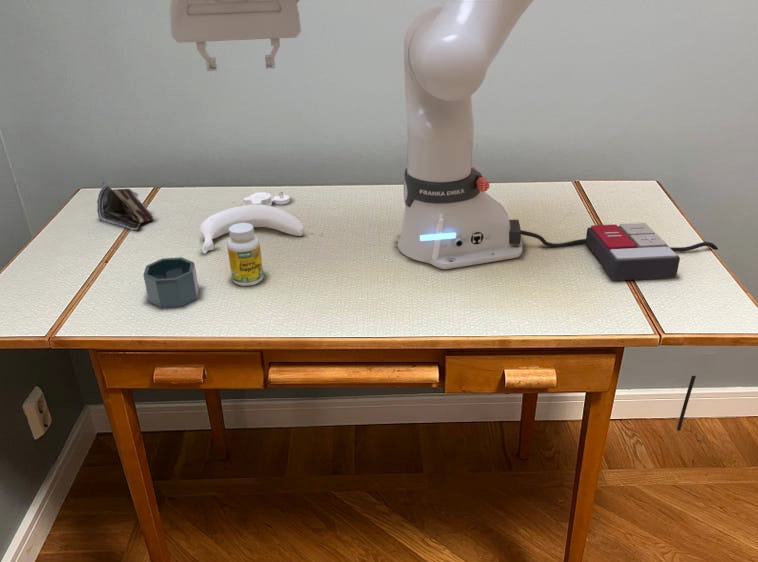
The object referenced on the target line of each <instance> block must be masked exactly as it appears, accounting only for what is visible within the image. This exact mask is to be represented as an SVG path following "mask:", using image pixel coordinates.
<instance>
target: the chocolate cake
mask: <svg viewBox="0 0 758 562" xmlns="http://www.w3.org/2000/svg"><path fill="white" fill-rule="evenodd" d="M138 197H139V193H138V192H136V191H135V192H134V191H133V190H132V189H131V188H116V189H112V188H111V187H110V186H109V185H108V184H107V183H106V182H104V181H102V184H101V190H100V191H99V193H98V198H97V201H96V204H97V207H96V208H97V209H96V211H97V216H98V218H99V220H101V221H103V222H104V223H106V222H107V223H108V224H113V225H115V226H119V227H122V228H125V229H128V230H131V231H137V230H138V229H139V227H140V226H141V224H142V223H146V222H151V221H154V216H153V214H152V213H151V211H150V210H149V209H148V207H149V205H148V204H147V203H145V202H141V200H140V199H139V198H138Z"/></svg>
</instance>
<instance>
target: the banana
mask: <svg viewBox="0 0 758 562" xmlns="http://www.w3.org/2000/svg"><path fill="white" fill-rule="evenodd" d="M237 223H249V224H252V225H253V228H269V229H272V230H276V231H279V232H282V233H284V234H289V235H290V236H291V235H292V236H295V237H299V236H300V237H301V236H303V235H304V226H303V224H302V223H301V221H300V220H299V219H298V218H297V217H296V216H294V215H293V214H291V213H289V212H288V211H286V210H283V209H280V208H278V207H276V206H273V205H271V206H267V205H244V206H243V205H238V206H234V207H230V208H227V209H223V210H221V211H218V212H216V213H213V214H212V215H210V216H208V217H206V218H205V219H204V220H202V222H201V224H200V225H199V235H200V236H201V237H202V238H203V239H204V242H203V243H202V248H201V251H202V253H203V254H206V253H207V252H209V251H215V248H214V242H213V240H214V239H217V238H220V237H221V236H222V237H223V236H224V235H226V234H229V228H230V226H232V225H234V224H237Z"/></svg>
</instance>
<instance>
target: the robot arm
mask: <svg viewBox="0 0 758 562" xmlns="http://www.w3.org/2000/svg"><path fill="white" fill-rule="evenodd" d="M534 1H535V0H446V2H445V3H444V5H443V7H442V6H437V7H430V8H426V9H424V10H422V11H420V12H418V13H417V14H416V15H415V16H414V17H413V18H412V19H411V21H410V22H409V24H408V25H407V28H406V30H405V33H404V38H403V70H404V94H405V109H406V125H407V126H406V169H405V170H404V175H403V176H404V178H403V201H404V204H405V206H404V212H403V213H404V215H403V220H402V224H401V231H400V234H399V237H398V240H397V245H396V246H397V249H398V250H399V252H400V253H401V254H402V255H404V256H406V257H407V258H409V259H412V260H414V261H418V262H422V263H426V264H430V265H432V266H434V267H436V268H438V269H441V270H451V269H457V268H462V267H463V268H464V267H468V266H469V267H470V266H475V265H480V264H487V263H492V262H493V263H494V262H499V261H505V260H511V259H516V258H520V257H521V255H522V253H523V240H522V235H523V236H528V237H530V238H534V239H537V240H539V241H540V242H541V243H542V244H543V246H545V247H548V248H552V249H553V248H555V249H556V248H565V247H571V246H574V245H579V244H580V245H582V244H586V238H581V239H575V240H571V241H567V242H561V243H552V242H550V241H549V242H548V241H547V240H546V239H545V238H544V237H543V236H541V234H537V233H535V232H532V231H526V230H522V228H521V225H520V221H519V219H510V217H509V214H508V212H507V210H506V208H505V207H504V206H503V205H502V204H501V203H500V201H498V200H496V199H495V198H494V197H492V196H491V195H490V194H488V193H486V192H488V190H489V189H490V186H491V185H490V182H489V180H488V179H487V178H486V177H484V176H483V175H482V173H481V172H480V171H478V170H477V169H476V167H474V166H473V165H472V163H473V149H474V148H473V147H474V132H475V131H474V130H475V125H474V124H475V122H474V116H473V103H472V102H473V101H472V95H473V94H475V93H476V92H477V91H478V90H479V88H480V87H482V85H483V82H484V80H485V78H486V75H487V72H488V70H489V67H490V66H491V64H492V63H493V62H494V59H496V57H497V55H498V54H499V52H500V50H501V49H502V47H503V46H504V44H505V42H506V41H507V39H508V37H509V35H510V34H511V32H512V31H513V29H514V28H515V26H516V24H517V23H518V21H519V20H520V19H521V17H522V16H523V14H524V13H525V12H526V11H527V10H528V8H529V7H530V6H531V5H532V3H533V2H534ZM299 2H300V0H170V2H169V3H170V4H169V21H170V31H171V32H170V33H171V36H172V38H173V40H175V41H176V42H177V43H180V44H182V43H196V50H197V51H198V53H199V54H200V56H201V57H202V58H203V59H204V60H205V65H206V72H216V71H217V70H218V66H217V65H218V64H217V58H216V57H215V56H212V57H211V55H210V54H209V52H208V51H207V50H206V48H207V46H208V43H207V42H225V41H226V42H227V41H251V40H252V41H253V40H270V46H272V48H271V51H270V54H264V61H265V69H275V68H276V59H275V58H276V56H277V53H278V51H279V49H280V46H281V41H280V40H281V39H296V38H298V37H299V35H300V34H301V32H302V27H301V18H300V12H299V7H298V3H299ZM669 247H670V246H669ZM703 247H709V248H711V249H712V250H715V251H718V250H719V247H718V246H717V245H716V244H715V243H713V242H710V241H702V242H698V243H695V244H692V245H689V246H681V247H679V246H678V247H677V246H675V247H673V246H671V247H670V248H671V249H672V250H673V251H674V252H675V253H676V252H678V253H679V252H688V251H694V250H697V249H699V248H703ZM696 378H697V375H691V378H690V381H689V384H688V388H687V390H686V394H685V397H684V401H683V404H682V408H681V411H680V415H679V419H678V423H677V426H676V431H678V432H679V431H681V430H682V426H683V421H684V418H685V414H686V410H687V407H688V403H689V400H690V397H691V393H692V391H693V388H694V383H695V380H696Z"/></svg>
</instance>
